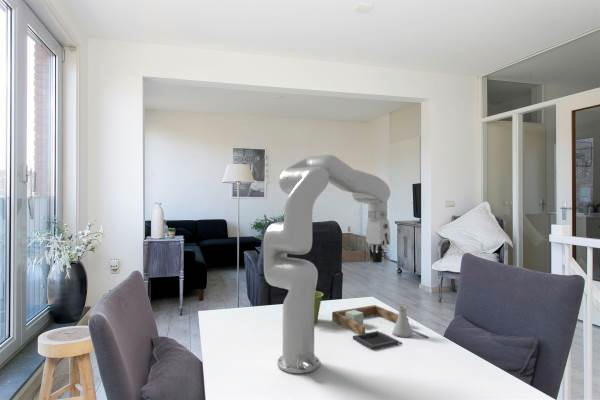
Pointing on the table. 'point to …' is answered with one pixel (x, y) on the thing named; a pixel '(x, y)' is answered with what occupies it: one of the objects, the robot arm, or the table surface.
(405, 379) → the table surface
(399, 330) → the flask
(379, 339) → the frame
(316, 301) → the plant pot
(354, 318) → the grey green block
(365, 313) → the wooden u-shaped frame
